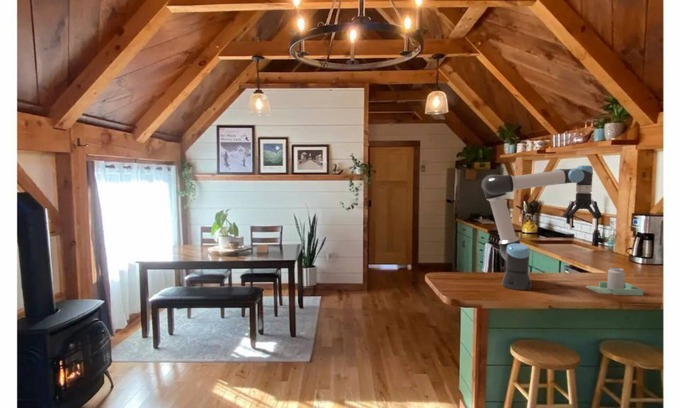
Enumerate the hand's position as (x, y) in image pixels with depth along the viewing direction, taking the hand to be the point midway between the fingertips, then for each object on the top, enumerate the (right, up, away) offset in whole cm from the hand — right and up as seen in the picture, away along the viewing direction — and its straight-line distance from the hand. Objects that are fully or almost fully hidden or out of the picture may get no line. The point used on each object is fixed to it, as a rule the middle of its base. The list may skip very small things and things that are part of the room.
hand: (581, 229), depth 219 cm
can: (+10, -32, -12) cm, 36 cm away
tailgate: (+5, -32, -12) cm, 35 cm away
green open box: (+12, -33, -13) cm, 37 cm away
